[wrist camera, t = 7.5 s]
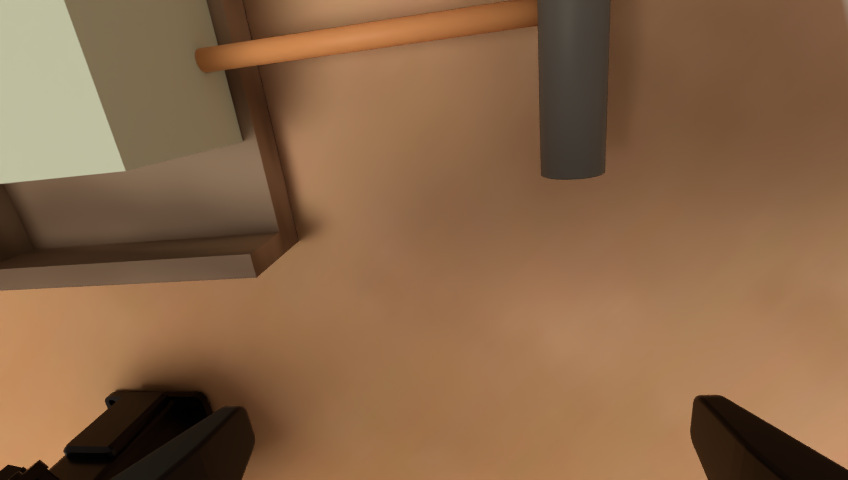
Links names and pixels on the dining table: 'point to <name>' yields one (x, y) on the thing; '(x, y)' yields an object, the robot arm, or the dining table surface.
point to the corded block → (207, 61)
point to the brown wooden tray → (159, 206)
